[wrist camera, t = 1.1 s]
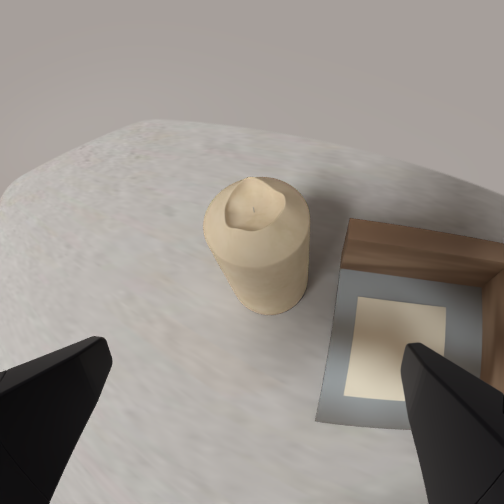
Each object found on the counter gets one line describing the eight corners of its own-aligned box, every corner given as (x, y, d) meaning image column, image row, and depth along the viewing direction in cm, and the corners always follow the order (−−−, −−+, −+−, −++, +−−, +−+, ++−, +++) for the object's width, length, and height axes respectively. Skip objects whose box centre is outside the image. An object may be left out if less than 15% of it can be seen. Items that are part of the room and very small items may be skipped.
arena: (485, 427, 16) (522, 428, 12) (314, 420, 19) (319, 426, 14) (491, 274, 21) (521, 247, 17) (341, 253, 24) (349, 218, 20)
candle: (234, 250, 26) (199, 165, 17) (304, 244, 25) (303, 154, 16) (233, 318, 23) (190, 259, 14) (310, 313, 22) (317, 249, 14)
